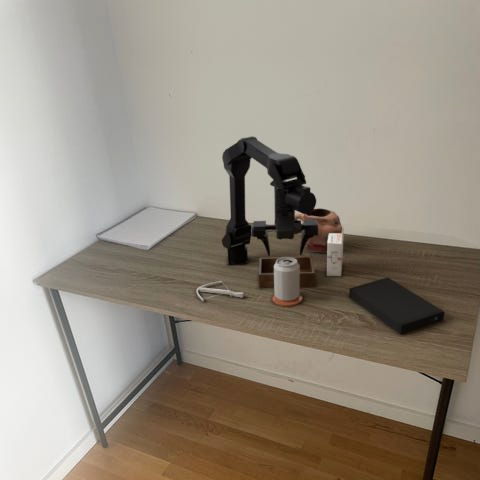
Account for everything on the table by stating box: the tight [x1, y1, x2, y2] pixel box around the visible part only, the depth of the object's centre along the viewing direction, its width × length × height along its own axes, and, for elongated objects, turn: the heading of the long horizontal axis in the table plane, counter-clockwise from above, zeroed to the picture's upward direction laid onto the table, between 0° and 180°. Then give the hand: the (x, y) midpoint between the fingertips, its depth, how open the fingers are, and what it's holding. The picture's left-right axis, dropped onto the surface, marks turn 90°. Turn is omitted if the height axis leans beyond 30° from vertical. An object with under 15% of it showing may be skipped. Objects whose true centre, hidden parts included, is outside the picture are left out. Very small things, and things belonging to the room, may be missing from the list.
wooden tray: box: [258, 255, 316, 289], centre depth 151 cm, size 17×12×5 cm
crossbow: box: [195, 280, 245, 302], centre depth 146 cm, size 16×13×2 cm
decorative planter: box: [295, 207, 345, 254], centre depth 168 cm, size 20×12×14 cm, turn 60°
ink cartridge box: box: [326, 227, 345, 277], centre depth 151 cm, size 9×5×15 cm, turn 168°
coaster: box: [272, 292, 303, 307], centre depth 141 cm, size 9×9×1 cm
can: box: [273, 256, 300, 302], centre depth 138 cm, size 8×8×12 cm
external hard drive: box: [348, 277, 445, 336], centre depth 132 cm, size 14×23×3 cm, turn 24°
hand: (284, 255), depth 138 cm, fingers open, 9 cm apart
